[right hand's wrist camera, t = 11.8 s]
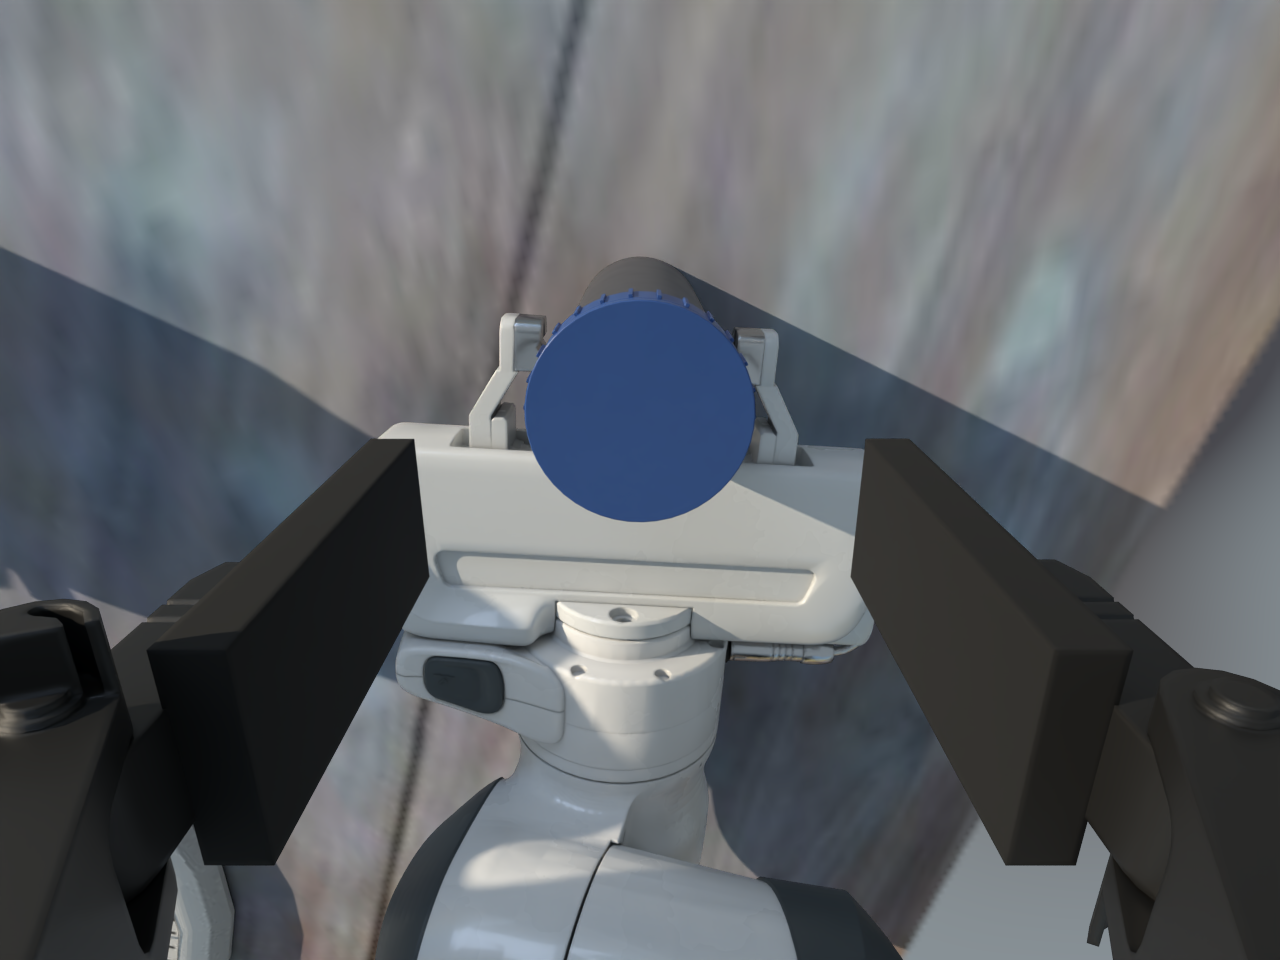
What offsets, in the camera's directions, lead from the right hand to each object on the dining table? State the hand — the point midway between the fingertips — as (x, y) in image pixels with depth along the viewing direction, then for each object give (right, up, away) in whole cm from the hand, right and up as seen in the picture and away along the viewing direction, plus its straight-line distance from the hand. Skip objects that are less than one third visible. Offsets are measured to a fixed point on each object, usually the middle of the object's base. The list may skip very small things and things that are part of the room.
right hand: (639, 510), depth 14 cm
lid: (0, +2, +6) cm, 6 cm away
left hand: (0, +6, +14) cm, 15 cm away
